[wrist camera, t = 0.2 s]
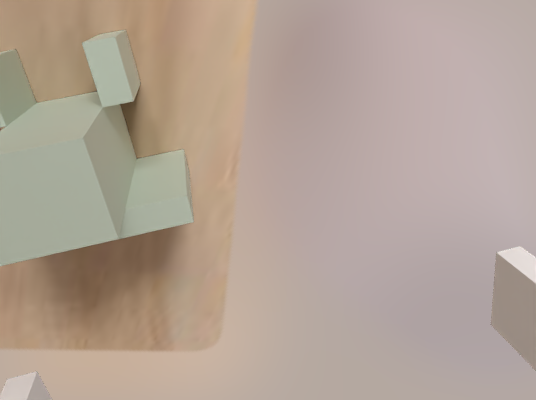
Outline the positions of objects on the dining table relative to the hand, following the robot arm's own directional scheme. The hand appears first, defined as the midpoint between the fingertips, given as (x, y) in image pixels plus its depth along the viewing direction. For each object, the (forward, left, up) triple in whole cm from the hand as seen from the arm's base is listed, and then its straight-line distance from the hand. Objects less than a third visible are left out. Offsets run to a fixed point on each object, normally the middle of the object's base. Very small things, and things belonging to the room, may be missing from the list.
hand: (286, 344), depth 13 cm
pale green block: (-1, -10, -28) cm, 29 cm away
